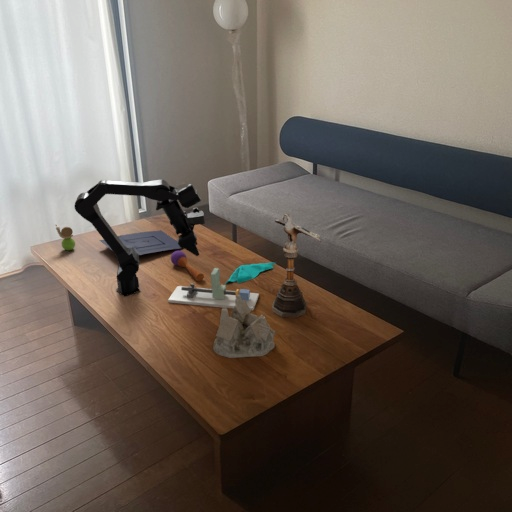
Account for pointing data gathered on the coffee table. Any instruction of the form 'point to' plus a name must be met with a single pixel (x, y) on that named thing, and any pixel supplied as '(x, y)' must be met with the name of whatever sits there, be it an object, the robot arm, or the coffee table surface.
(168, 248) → the papers
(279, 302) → the bird statue
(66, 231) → the snail figurine
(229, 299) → the white board with rod
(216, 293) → the sage green stepped block
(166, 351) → the coffee table surface
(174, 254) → the kendama
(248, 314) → the ceramic cottage
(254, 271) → the cloth
